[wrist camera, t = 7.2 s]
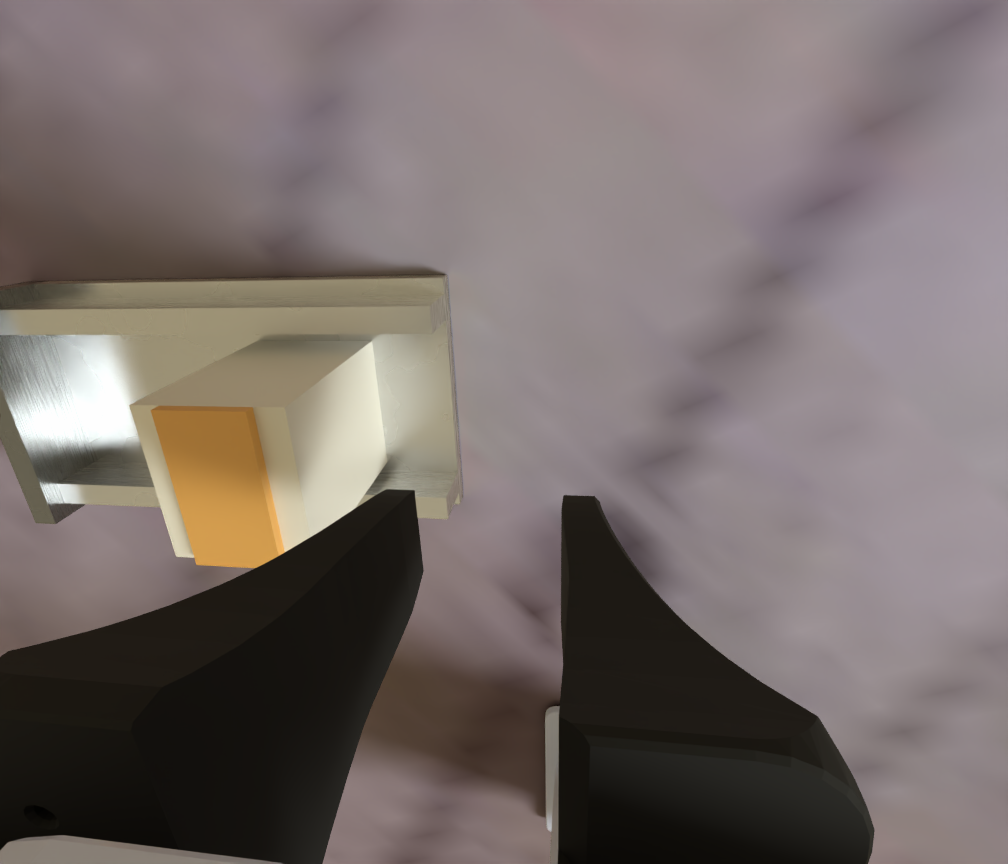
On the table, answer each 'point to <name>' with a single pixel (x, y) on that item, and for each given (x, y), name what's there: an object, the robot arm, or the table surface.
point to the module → (263, 447)
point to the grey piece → (194, 345)
